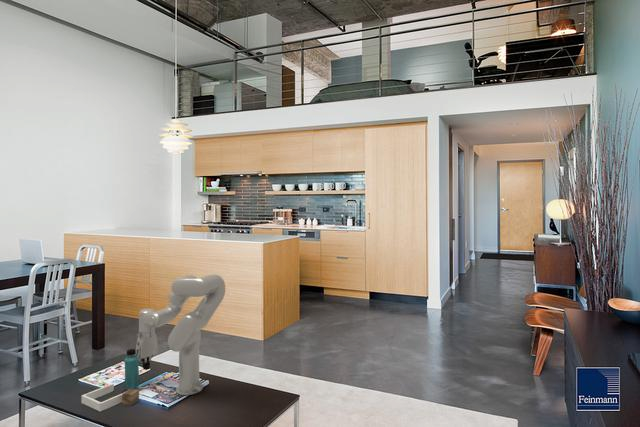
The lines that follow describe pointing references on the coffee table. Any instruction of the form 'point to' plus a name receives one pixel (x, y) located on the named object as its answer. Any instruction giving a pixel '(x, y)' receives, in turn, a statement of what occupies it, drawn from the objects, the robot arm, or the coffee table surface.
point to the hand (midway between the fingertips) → (146, 369)
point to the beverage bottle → (131, 370)
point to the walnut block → (130, 397)
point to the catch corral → (89, 397)
